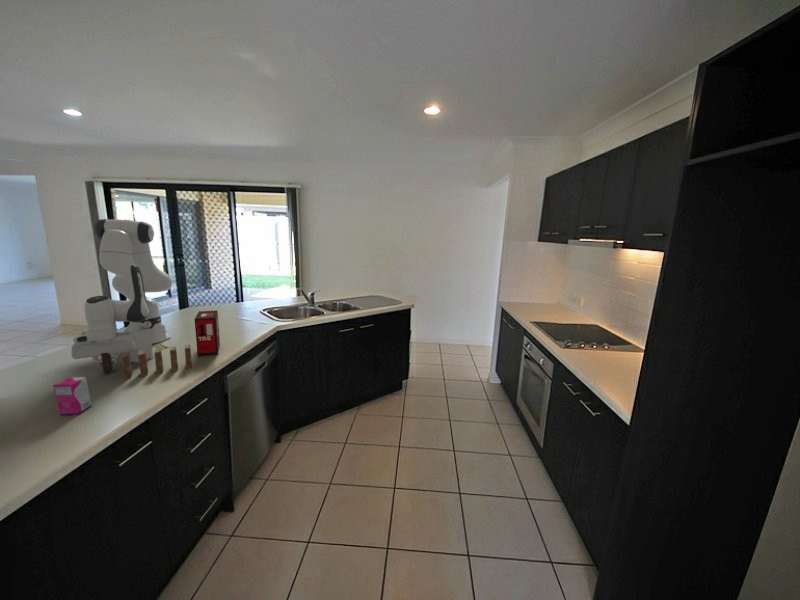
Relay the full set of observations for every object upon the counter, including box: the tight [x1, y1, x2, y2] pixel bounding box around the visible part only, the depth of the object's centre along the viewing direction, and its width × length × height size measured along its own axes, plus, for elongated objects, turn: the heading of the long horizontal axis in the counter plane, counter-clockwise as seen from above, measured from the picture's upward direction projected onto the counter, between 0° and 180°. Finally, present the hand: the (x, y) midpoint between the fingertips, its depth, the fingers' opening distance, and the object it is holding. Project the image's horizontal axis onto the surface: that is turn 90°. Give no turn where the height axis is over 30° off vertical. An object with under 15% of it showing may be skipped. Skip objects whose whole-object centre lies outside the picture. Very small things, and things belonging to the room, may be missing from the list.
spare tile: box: [100, 353, 114, 376], centre depth 137 cm, size 2×5×10 cm, turn 34°
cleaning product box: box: [194, 309, 221, 358], centre depth 167 cm, size 16×9×20 cm, turn 26°
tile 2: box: [120, 352, 133, 380], centre depth 135 cm, size 2×5×10 cm, turn 34°
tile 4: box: [153, 347, 164, 375], centre depth 141 cm, size 2×5×10 cm, turn 34°
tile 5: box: [169, 346, 179, 372], centre depth 144 cm, size 2×5×10 cm, turn 34°
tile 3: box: [138, 350, 149, 377], centre depth 138 cm, size 2×5×10 cm, turn 34°
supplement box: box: [52, 376, 93, 416], centre depth 108 cm, size 6×6×12 cm
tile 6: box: [183, 344, 193, 370], centre depth 147 cm, size 2×5×10 cm, turn 34°
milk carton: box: [122, 322, 154, 364], centre depth 152 cm, size 7×7×19 cm
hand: (107, 364), depth 138 cm, fingers open, 3 cm apart
